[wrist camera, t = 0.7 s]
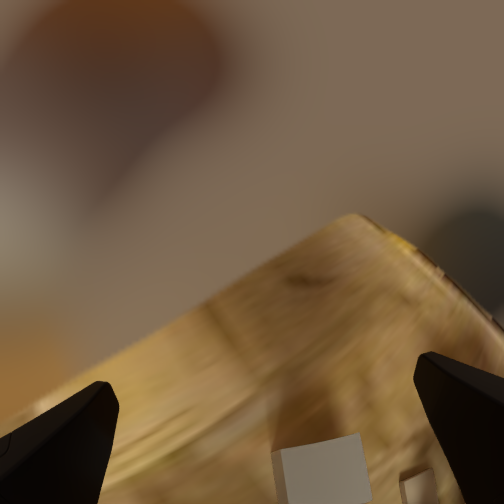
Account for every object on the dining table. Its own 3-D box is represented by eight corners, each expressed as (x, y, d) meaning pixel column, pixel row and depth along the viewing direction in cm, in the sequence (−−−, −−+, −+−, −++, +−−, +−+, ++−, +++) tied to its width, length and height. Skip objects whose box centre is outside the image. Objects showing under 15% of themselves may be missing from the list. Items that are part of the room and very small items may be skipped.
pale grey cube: (344, 495, 14) (372, 500, 11) (279, 510, 14) (291, 522, 10) (334, 441, 18) (359, 432, 14) (270, 452, 17) (280, 449, 14)
